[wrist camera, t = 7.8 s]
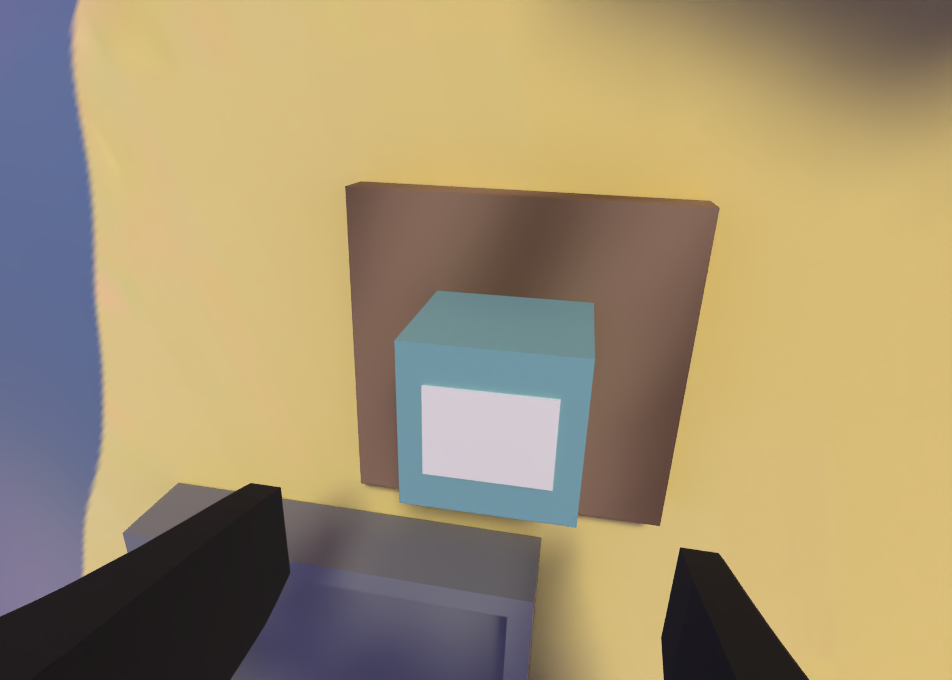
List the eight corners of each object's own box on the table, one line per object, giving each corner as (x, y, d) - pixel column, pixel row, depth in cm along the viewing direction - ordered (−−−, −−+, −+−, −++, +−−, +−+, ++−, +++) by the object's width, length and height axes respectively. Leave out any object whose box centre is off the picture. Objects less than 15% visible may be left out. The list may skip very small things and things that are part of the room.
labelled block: (594, 302, 16) (594, 361, 12) (579, 441, 18) (576, 530, 14) (437, 290, 17) (392, 342, 13) (437, 425, 18) (398, 505, 15)
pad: (710, 200, 16) (719, 207, 14) (655, 502, 19) (659, 525, 18) (360, 181, 17) (345, 186, 16) (373, 463, 21) (360, 483, 20)
